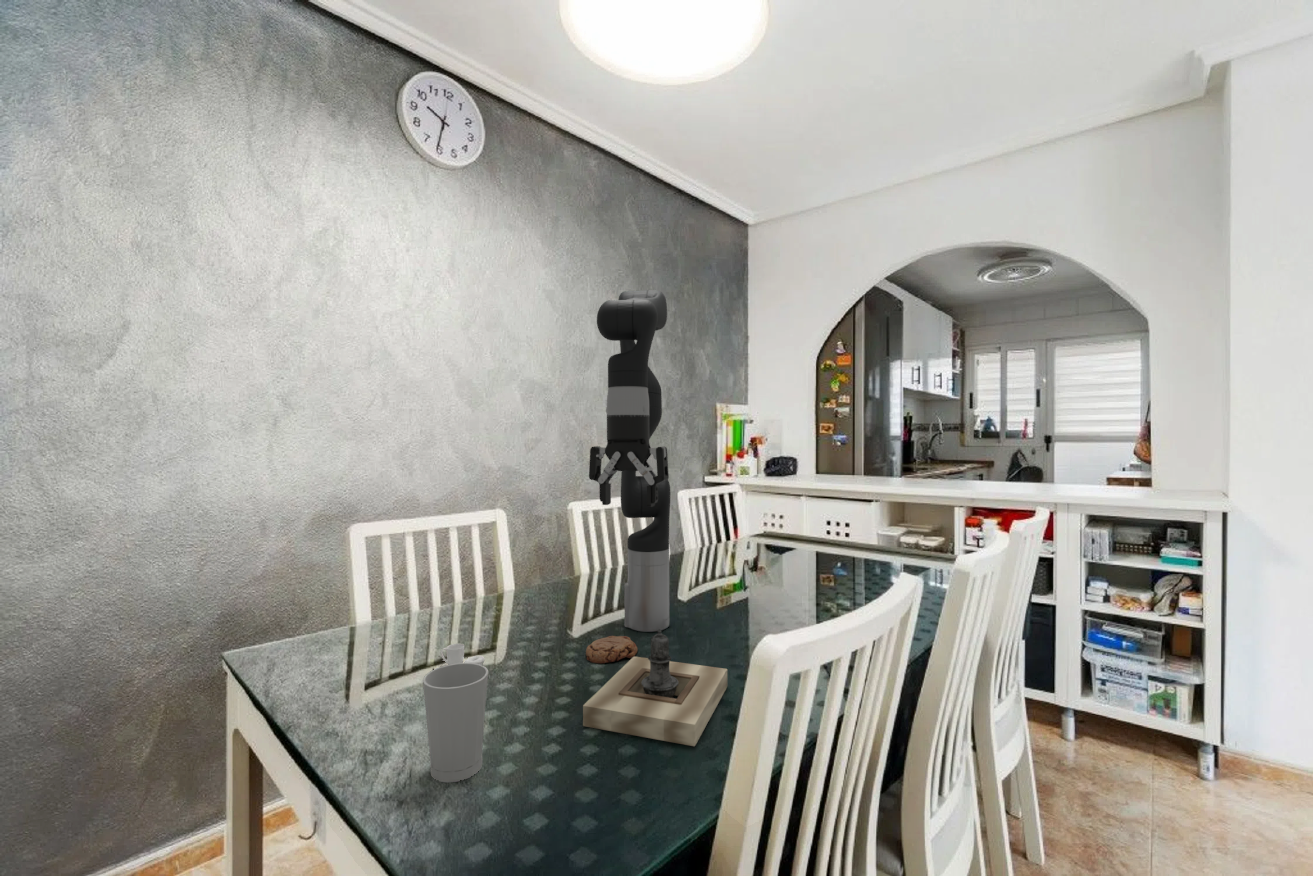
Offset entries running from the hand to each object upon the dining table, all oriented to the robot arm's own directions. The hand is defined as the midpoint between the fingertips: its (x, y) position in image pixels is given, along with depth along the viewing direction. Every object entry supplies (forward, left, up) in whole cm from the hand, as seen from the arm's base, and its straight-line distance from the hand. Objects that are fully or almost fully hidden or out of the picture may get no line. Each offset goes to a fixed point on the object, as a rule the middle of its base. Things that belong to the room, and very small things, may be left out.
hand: (628, 505), depth 104 cm
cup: (-10, -34, -30) cm, 47 cm away
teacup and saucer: (-29, -9, -31) cm, 43 cm away
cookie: (-7, +8, -31) cm, 32 cm away
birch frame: (+9, -9, -30) cm, 33 cm away
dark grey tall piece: (+9, -9, -30) cm, 33 cm away
